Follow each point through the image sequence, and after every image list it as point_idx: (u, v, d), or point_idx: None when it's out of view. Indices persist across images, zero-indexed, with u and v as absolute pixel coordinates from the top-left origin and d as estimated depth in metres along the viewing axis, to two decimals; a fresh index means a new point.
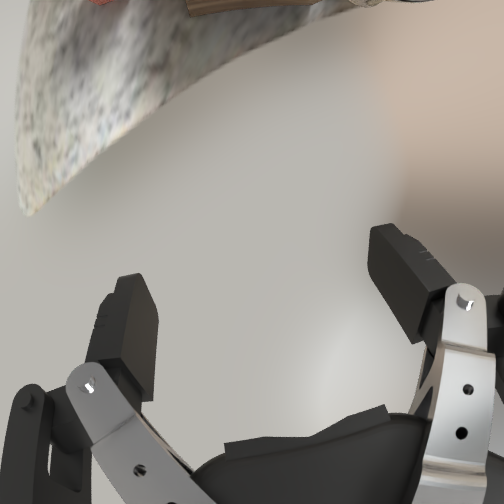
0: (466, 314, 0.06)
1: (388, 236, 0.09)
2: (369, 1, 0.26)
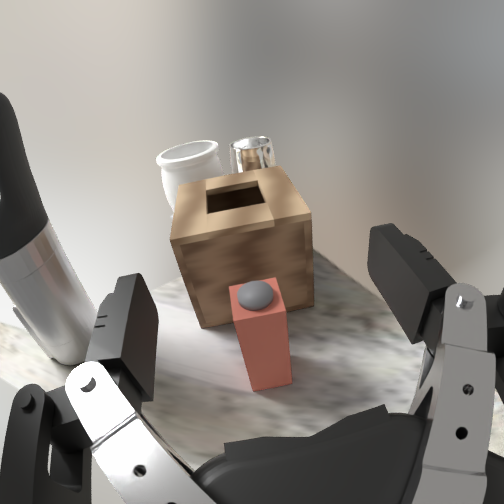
0: (466, 314, 0.06)
1: (388, 236, 0.09)
2: None
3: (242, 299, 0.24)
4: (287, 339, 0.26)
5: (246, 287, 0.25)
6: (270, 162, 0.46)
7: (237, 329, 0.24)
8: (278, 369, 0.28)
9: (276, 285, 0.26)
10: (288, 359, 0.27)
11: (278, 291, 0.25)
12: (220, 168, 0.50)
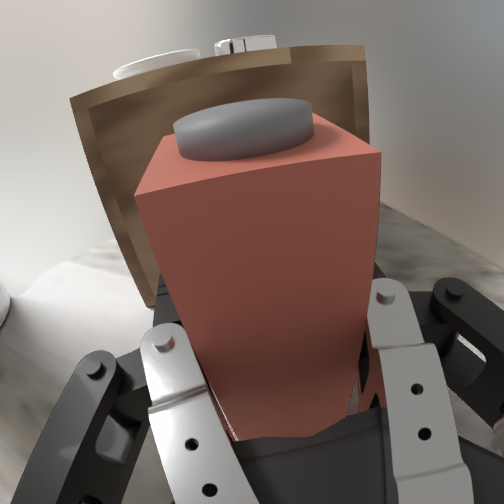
0: (382, 309, 0.07)
1: None
2: None
3: (189, 124, 0.05)
4: (365, 306, 0.07)
5: (213, 110, 0.07)
6: None
7: (160, 248, 0.05)
8: (316, 404, 0.09)
9: (316, 118, 0.07)
10: (350, 376, 0.08)
11: (327, 124, 0.07)
12: None
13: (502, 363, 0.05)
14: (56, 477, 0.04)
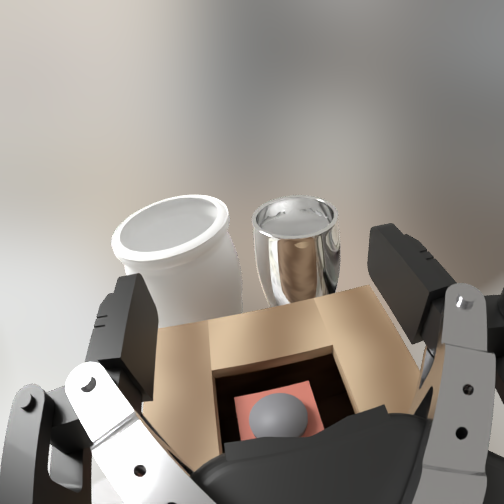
0: (466, 314, 0.06)
1: (388, 236, 0.09)
2: None
3: (258, 431, 0.13)
4: None
5: (263, 406, 0.14)
6: (335, 258, 0.23)
7: None
8: None
9: (311, 397, 0.15)
10: None
11: (315, 409, 0.14)
12: (233, 257, 0.27)
13: None
14: None
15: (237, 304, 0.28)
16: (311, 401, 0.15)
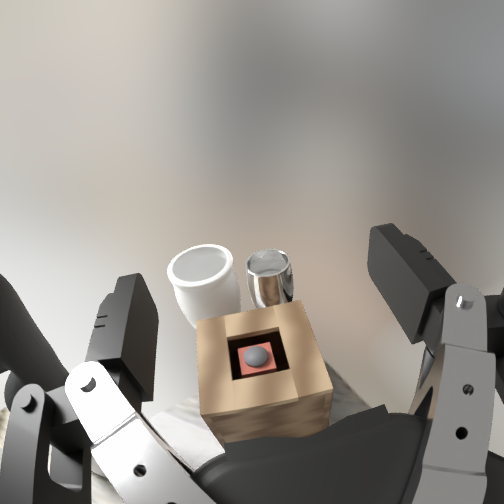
0: (466, 314, 0.06)
1: (388, 236, 0.09)
2: None
3: (247, 360, 0.35)
4: None
5: (249, 351, 0.36)
6: (288, 284, 0.46)
7: None
8: None
9: (270, 348, 0.37)
10: None
11: (271, 353, 0.36)
12: (235, 282, 0.49)
13: None
14: None
15: (237, 307, 0.51)
16: (270, 350, 0.37)
